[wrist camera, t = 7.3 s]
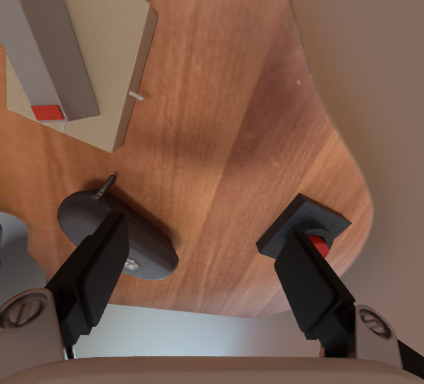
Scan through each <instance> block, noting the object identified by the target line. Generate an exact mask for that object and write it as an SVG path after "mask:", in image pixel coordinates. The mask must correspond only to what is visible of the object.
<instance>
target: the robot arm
mask: <svg viewBox="0 0 424 384" xmlns="http://www.w3.org/2000/svg"><path fill="white" fill-rule="evenodd" d="M129 251H130V250H129V234H128V218H127V215H124V213H123V212H118V211H110V212H109V214H108V215H107V216H106V218H105V219H104V220H103V221H102V223H101V224H100V225H99V227H98V228H97V229H96V230H95V232H94V233H93V234H92V235H88V236H86V237H85V238H84V239H83V241H82V242H81V243H80V244H79V246H78V247H77V248H76V249H75V250H74V252H73V253H72V254H71V255H70V257H69V258H68V259H67V260H66V262H65V263H64V264H63V265H62V266H61V268H60V269H59V270H58V271H57V273H56V274H55V275H54V276H53V278H52V279H51V280H50V281H49V282H48V284H47V285H46V286H45V287H44V288H35V289H30V290H27V291H24V292H22V293H20V294H18V295H16V296H14V297H12V298H11V299H9V300H8V301H7V302H5V303H4V304H3V305H2V306H1V307H0V384H424V357H423V356H421V355H420V354H419V353H417V352H415V351H414V350H413V349H411V348H410V347H408V346H407V345H405V344H404V343H402V342H401V341H399V340H398V339H397V338H396V334H395V332H394V330H393V328H392V327H391V325H390V324H389V323H388V321H387V320H386V319H385V318H384V317H382V315H380V314H379V313H378V312H376V311H375V310H374V309H372V308H370V307H368V306H365V305H358V306H356V307H355V305H354V304H353V303H354V302H355V301H356V300H355V299H354V297H353V296H352V295H351V293H350V292H349V291H348V289H347V288H346V287H345V285H344V284H343V283H342V281H341V280H340V279H339V277H338V276H337V275H336V273H335V272H334V271H333V269H332V268H331V267H330V265H329V264H328V263H327V261H326V260H325V259H324V257H323V256H322V255H321V253H320V252H319V251H318V249H317V248H316V247H315V245H314V244H313V242H312V241H311V240H310V238H309V237H308V236H307V234H306V233H305V232H299V231H293V232H292V233H290V234H289V236H288V238H287V240H286V242H285V244H284V246H283V248H282V250H281V252H280V254H279V256H278V257H277V259H276V261H275V264H274V267H275V271H276V273H277V275H278V278H279V280H280V282H281V285H282V287H283V290H284V292H285V294H286V297H287V299H288V302H289V304H290V306H291V309H292V311H293V313H294V316H295V318H296V321H297V323H298V325H299V328H300V329H301V331H302V332H304V334H305V337H306V339H307V340H317V339H319V341H320V343H321V345H320V352H319V357H215V356H214V357H210V356H205V357H204V356H203V357H202V356H187V357H186V356H161V357H160V356H154V357H153V356H149V357H148V356H137V357H136V356H134V357H93V358H79V359H76V356H75V352H74V347H73V345H74V344H76V343H77V341H78V339H79V337H80V335H89V334H90V332H91V329H92V327H96V326H97V325H98V323H99V321H100V319H101V317H102V314H103V312H104V310H105V308H106V306H107V303H108V301H109V299H110V297H111V294H112V292H113V290H114V288H115V286H116V283H117V281H118V279H119V277H120V274H121V272H122V270H123V268H124V265H125V263H126V261H127V259H128V256H129Z"/></svg>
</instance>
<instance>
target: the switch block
mask: <svg viewBox="0 0 424 384" xmlns="http://www.w3.org/2000/svg"><path fill="white" fill-rule="evenodd" d="M351 224H352V223H351V222H350V221H349V220H347V219H346V218H345V217H344V216H343V215H341V214H339V213H337V212H335V211H333V210H331V209H329V208H327V207H325V206H323V205H321V204H319V203H317V202H315V201H313V200H311V199H309V198H307V197H305V196H303V195H301V194H298V195H297V196H296V197H295V199H294V200H293V201H292V202H291V203H290V205H289V206H288V207H287V208H286V209H285V210H284V212H283V213H282V214H281V215H280V216H279V217H278V219H277V220H276V221H275V222H274V223H273V224H272V226H271V227H270V228H269V229H268V230H267V231H266V233H265V234H264V235H263V236H262V237H261V239H260V240H259V241H258V242H257V243H256V245H257V248H258V251H259V253H260V254H263V255H266V256H269V257H272V258H274V259H277V257H278V256H279V254H280V252H281V250H282V248H283V246H284V244H285V242H286V240H287V238H288V236H289V234H290V233H292V232H293V231H299V232H305V233H306V234H307V236H310V235H317V236H319V237H320V238H321V239H322V240H323V241H324V242H325V243H326V245H327V246H328V247H329V250H330V249H331V246H332V244H333V241H334V239H335V238H336V237H337V236H338V235H339V234H341V233H342V232H343V231H344V230H345V229H346V228H347V227H348V226H349V225H351Z"/></svg>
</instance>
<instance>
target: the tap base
mask: <svg viewBox="0 0 424 384" xmlns="http://www.w3.org/2000/svg"><path fill="white" fill-rule="evenodd" d="M64 2H65V5H66V8H67V11H68V14H69V18H70V21H71V24H72V27H73V30H74V34H75V37H76V40H77V43H78V46H79V49H80V53H81V56H82V59H83V62H84V65H85V69H86V72H87V75H88V78H89V81H90V84H91V88H92V91H93V94H94V97H95V100H96V104H97V107H98V110H99V113H100V115H99V116H94V117H89V118H85V119H80V120H75V121H70V122H53V123H41V124H43V125H45V126H48V127H50V128H52V129H55V130H57V131H59V132H62V133H64V134H67V135H69V136H71V137H74V138H76V139H78V140H81V141H83V142H85V143H88V144H90V145H92V146H95V147H97V148H100V149H102V150H104V151H107V152H109V153H113V152H114V151H116V150H117V149H119V148H120V147H122V144H123V140H124V136H125V133H126V129H127V126H128V122H129V119H130V115H131V112H132V108H133V105H134V101H135V98H137V99H139V100H141V101H144V97H142V96H140V95H138V94H137V90H138V87H139V83H140V80H141V76H142V73H143V69H144V65H145V62H146V58H147V55H148V51H149V48H150V44H151V41H152V37H153V34H154V30H155V26H156V23H157V19H158V17H157V15H156V13H155V11H154V9H153V8H152V6H151V4H150V3H149V2H148V1H146V0H64ZM6 92H7V109H8V110H10V111H12V112H15V113H17V114H19V115H22V116H24V117H26V118H29V119H31V120H34V121H36V122H38V123H39V121H37V119H36V117H35V115H34V113H33V111H32V108H31V104H30V102H29V100H28V98H27V96H26V94H25V92H24V90H23V88H22V85H21V83H20V81H19V79H18V77H17V75H16V73H15V71H14V69H13V67H12V65H11V63H10V60H9V58H8V56H7V54H6Z"/></svg>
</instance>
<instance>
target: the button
mask: <svg viewBox="0 0 424 384" xmlns="http://www.w3.org/2000/svg"><path fill="white" fill-rule="evenodd" d="M308 237H309V238H310V240H311V241H312V242H313V244H314V245H315V247H316V248H317V249H318V251H319V252H320V253H321V255H322V256H323V257H324V258H325V257H326V256H327V254H328V253H329V247H328V246H327V245H326V243H325V242H324V241H323V240H322V239H321V238H320V237H319V236H317V235H310V236H308Z"/></svg>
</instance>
